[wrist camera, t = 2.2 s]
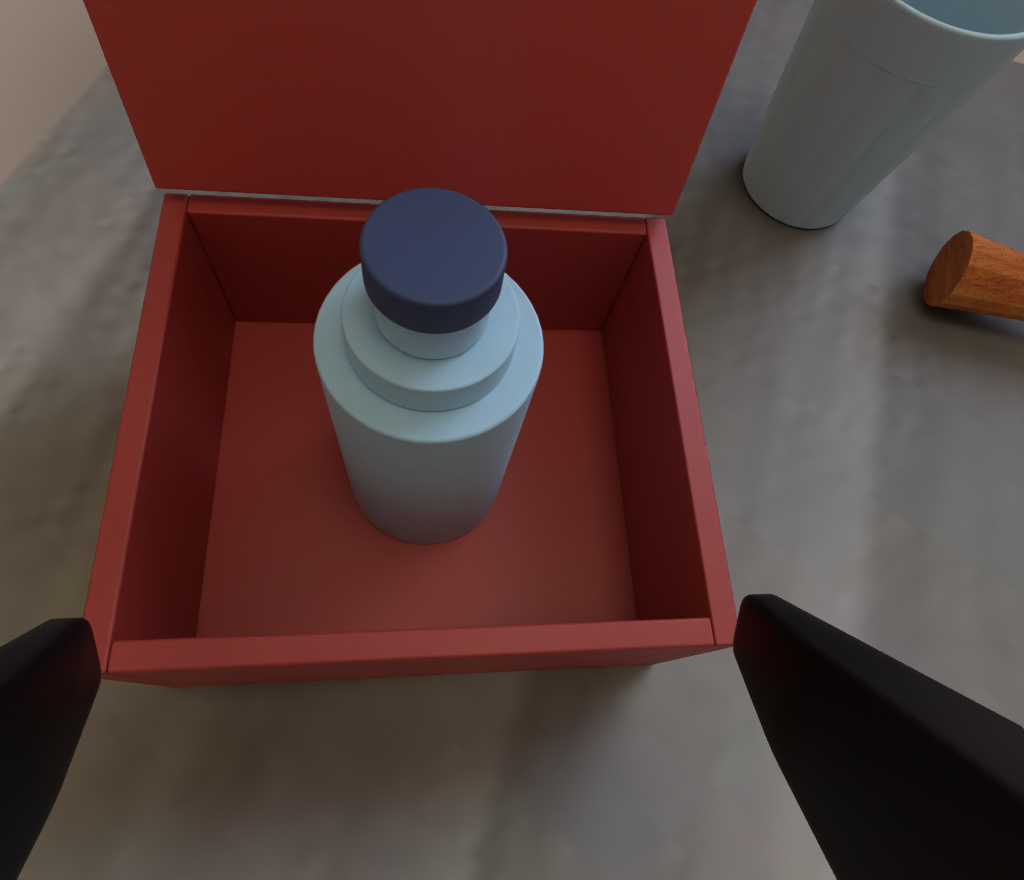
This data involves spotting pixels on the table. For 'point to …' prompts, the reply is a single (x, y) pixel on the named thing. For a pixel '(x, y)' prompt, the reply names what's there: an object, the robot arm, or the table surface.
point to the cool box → (328, 493)
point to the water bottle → (428, 364)
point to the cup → (870, 97)
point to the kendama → (977, 277)
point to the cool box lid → (424, 95)
